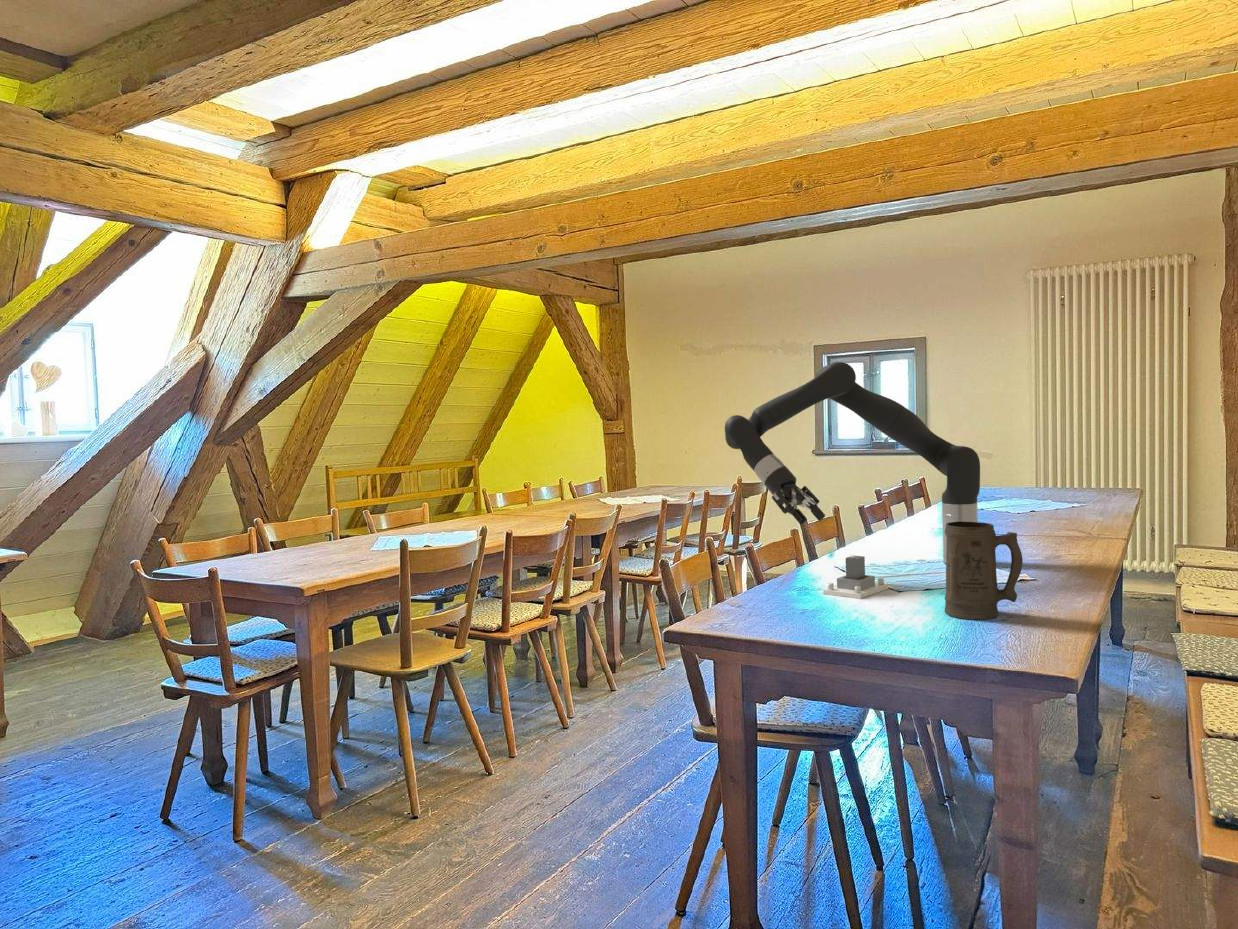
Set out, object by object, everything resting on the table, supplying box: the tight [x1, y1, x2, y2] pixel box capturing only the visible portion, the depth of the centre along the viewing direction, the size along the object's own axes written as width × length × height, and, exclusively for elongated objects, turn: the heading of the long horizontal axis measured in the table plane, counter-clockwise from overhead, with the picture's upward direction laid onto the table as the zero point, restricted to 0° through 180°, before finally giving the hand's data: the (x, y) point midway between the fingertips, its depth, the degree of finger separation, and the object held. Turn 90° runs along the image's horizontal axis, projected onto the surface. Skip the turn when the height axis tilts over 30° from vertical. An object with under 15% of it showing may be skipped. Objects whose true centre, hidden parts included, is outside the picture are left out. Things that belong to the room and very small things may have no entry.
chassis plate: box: [822, 574, 890, 600], centre depth 208 cm, size 14×10×4 cm
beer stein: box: [944, 521, 1023, 620], centre depth 180 cm, size 15×11×20 cm
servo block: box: [845, 554, 866, 580], centre depth 208 cm, size 4×3×8 cm
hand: (813, 520), depth 216 cm, fingers open, 8 cm apart
